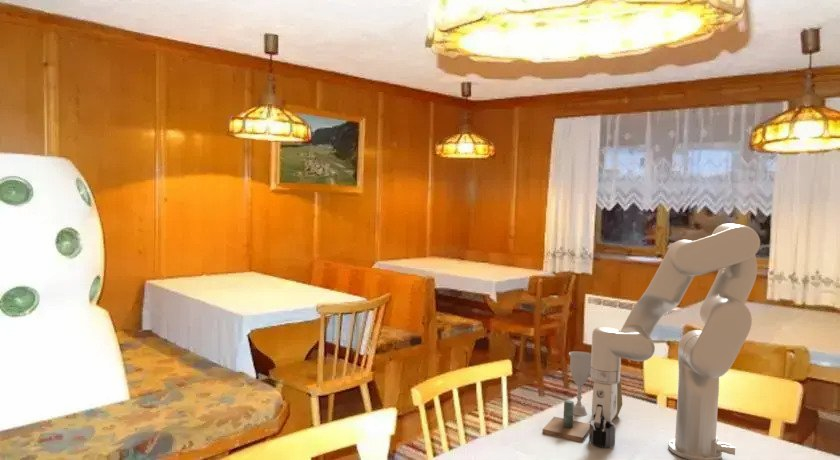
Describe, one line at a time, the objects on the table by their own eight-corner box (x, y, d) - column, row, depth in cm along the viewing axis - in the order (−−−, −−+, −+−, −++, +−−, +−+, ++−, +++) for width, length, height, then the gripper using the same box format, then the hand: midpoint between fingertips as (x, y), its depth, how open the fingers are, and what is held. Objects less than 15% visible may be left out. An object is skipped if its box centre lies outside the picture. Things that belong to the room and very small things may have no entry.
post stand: (592, 428, 170) (593, 400, 170) (582, 442, 161) (584, 411, 160) (554, 420, 176) (555, 392, 175) (542, 433, 166) (543, 403, 166)
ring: (616, 441, 162) (617, 422, 162) (611, 449, 156) (612, 430, 156) (592, 435, 165) (593, 418, 165) (586, 444, 159) (587, 425, 159)
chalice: (588, 409, 186) (591, 351, 185) (593, 417, 179) (595, 357, 178) (564, 408, 186) (567, 350, 185) (567, 416, 180) (570, 356, 179)
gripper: (613, 385, 150) (609, 456, 151) (625, 369, 165) (622, 433, 166) (582, 380, 154) (579, 449, 155) (598, 364, 169) (595, 427, 170)
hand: (602, 440), depth 161 cm, fingers closed on ring, 6 cm apart
